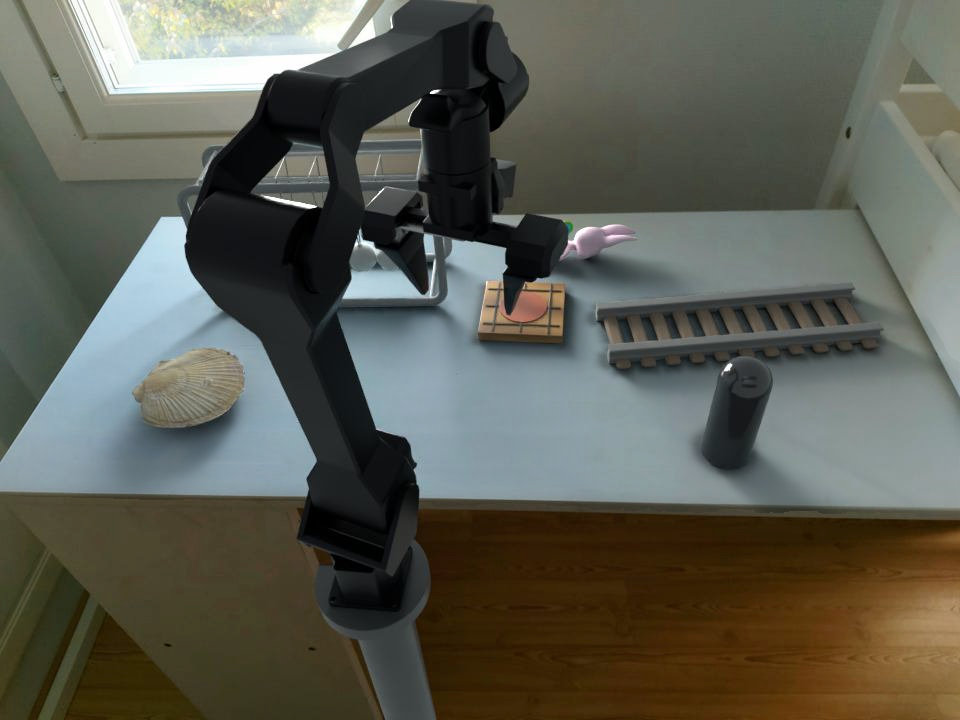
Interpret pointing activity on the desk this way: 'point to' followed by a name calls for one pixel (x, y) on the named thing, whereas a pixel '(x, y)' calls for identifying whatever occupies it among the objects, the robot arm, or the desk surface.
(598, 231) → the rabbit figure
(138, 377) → the desk surface
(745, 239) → the desk surface
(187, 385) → the seashell
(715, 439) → the dark grey cylinder
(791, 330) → the model train track
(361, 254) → the newton's cradle
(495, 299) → the board
